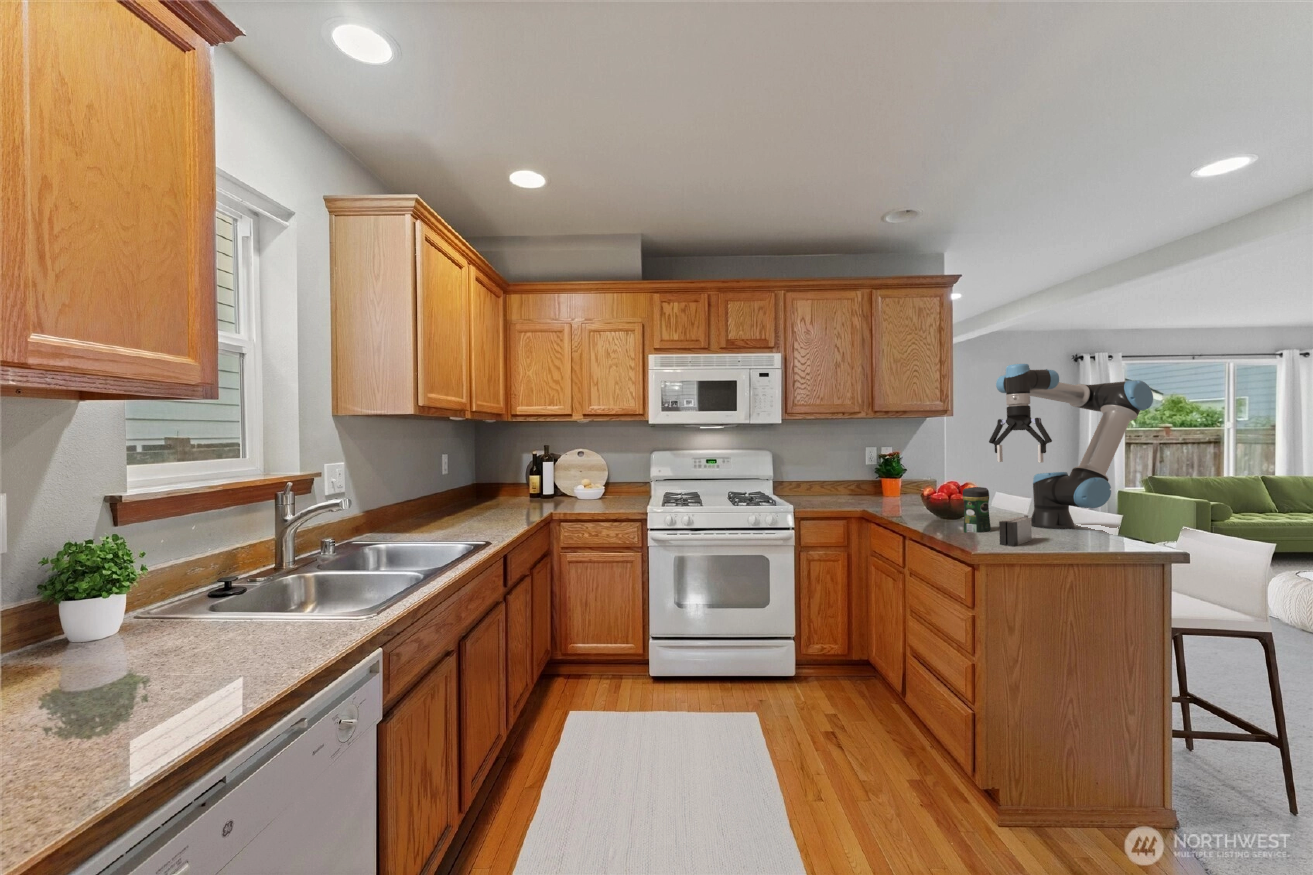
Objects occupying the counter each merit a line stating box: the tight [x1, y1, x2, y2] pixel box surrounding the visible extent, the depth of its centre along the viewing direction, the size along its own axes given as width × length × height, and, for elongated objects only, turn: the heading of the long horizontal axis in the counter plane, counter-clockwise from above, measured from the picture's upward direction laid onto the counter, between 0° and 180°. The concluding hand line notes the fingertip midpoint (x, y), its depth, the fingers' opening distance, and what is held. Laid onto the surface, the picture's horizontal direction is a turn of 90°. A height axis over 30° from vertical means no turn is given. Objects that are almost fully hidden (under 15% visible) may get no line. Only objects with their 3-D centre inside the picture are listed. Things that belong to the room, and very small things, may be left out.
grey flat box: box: [1007, 514, 1033, 547], centre depth 196 cm, size 18×3×9 cm, turn 126°
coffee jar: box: [962, 486, 992, 534], centre depth 222 cm, size 10×8×19 cm
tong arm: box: [998, 516, 1024, 546], centre depth 198 cm, size 16×2×8 cm, turn 128°
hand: (1019, 462), depth 209 cm, fingers open, 13 cm apart
